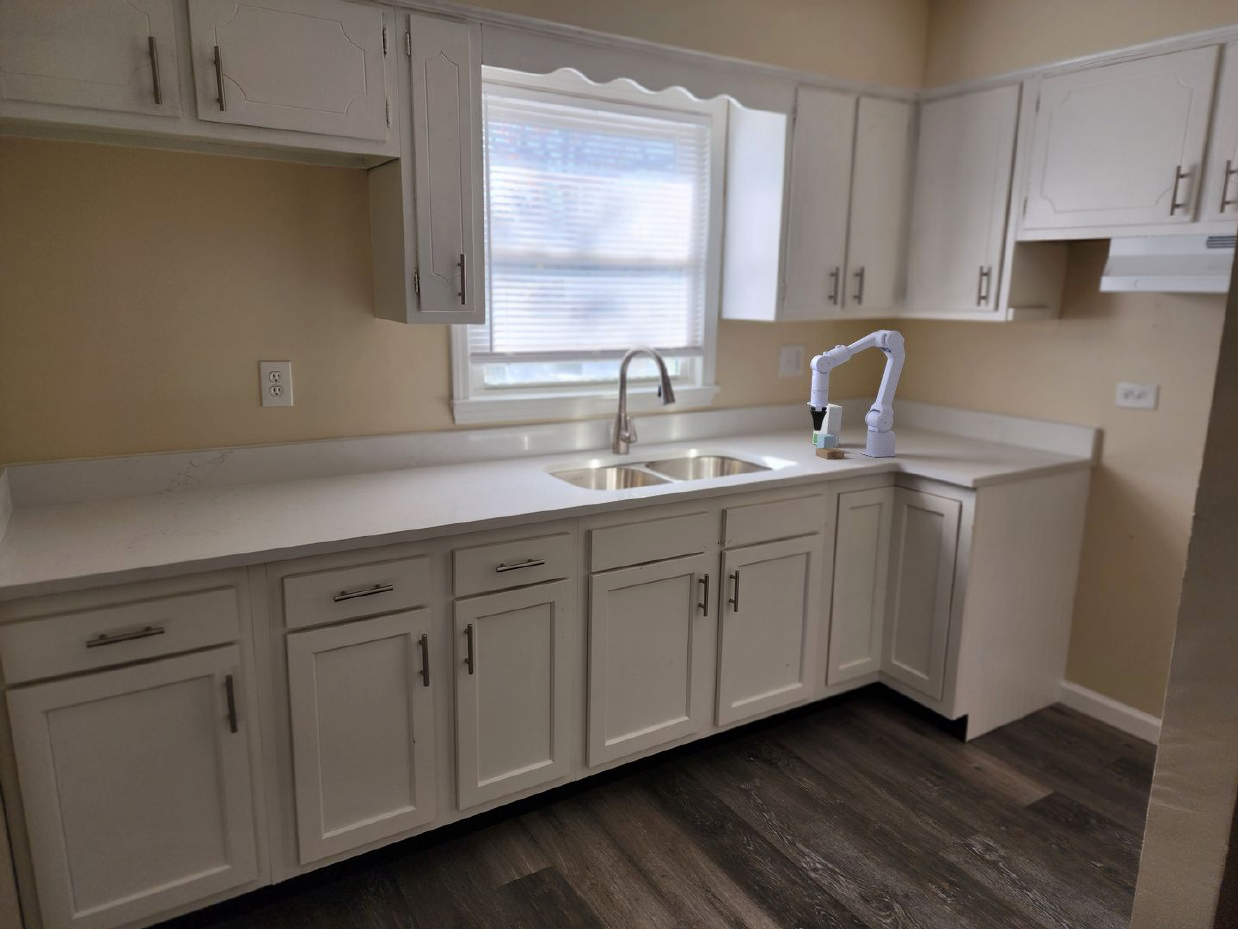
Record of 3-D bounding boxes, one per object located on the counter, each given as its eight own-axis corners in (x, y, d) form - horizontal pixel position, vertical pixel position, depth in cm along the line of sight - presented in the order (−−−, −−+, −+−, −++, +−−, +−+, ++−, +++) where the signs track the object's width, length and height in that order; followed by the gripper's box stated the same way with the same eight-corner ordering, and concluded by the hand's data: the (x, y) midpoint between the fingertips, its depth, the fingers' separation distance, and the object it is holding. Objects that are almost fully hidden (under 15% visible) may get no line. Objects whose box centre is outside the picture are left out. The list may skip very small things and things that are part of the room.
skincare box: (811, 444, 310) (814, 403, 307) (825, 443, 313) (828, 402, 310) (826, 448, 303) (829, 406, 300) (840, 447, 306) (843, 405, 302)
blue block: (826, 450, 299) (828, 433, 298) (834, 452, 295) (835, 436, 294) (816, 450, 298) (817, 434, 297) (823, 452, 294) (824, 436, 292)
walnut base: (832, 455, 291) (832, 447, 290) (843, 459, 284) (844, 450, 284) (815, 456, 289) (816, 448, 288) (826, 460, 282) (827, 451, 282)
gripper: (808, 387, 290) (806, 425, 293) (807, 392, 277) (805, 431, 279) (828, 388, 289) (826, 426, 292) (829, 393, 275) (826, 432, 278)
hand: (817, 428), depth 285 cm, fingers open, 7 cm apart
